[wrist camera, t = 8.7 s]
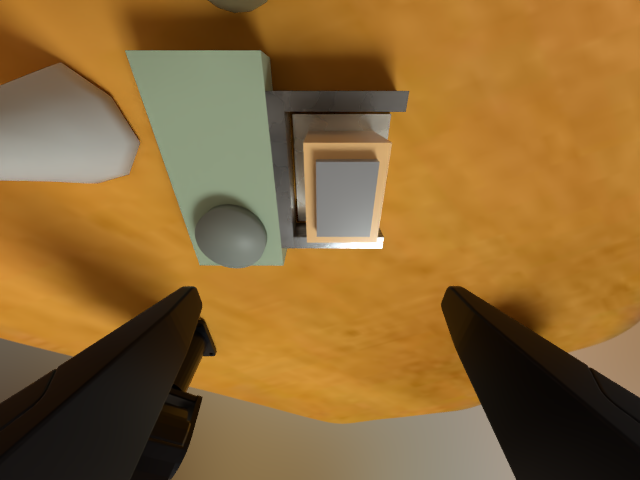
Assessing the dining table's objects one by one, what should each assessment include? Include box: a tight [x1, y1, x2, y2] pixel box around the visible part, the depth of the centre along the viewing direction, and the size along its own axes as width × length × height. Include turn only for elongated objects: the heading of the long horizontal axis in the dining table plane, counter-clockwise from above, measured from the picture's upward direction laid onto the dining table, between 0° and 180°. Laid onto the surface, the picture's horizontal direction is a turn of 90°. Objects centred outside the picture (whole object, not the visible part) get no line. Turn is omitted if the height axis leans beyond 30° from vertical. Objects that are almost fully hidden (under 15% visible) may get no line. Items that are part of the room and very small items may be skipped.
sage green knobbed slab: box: [125, 50, 287, 268], centre depth 16 cm, size 14×7×4 cm, turn 0°
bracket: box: [265, 91, 409, 248], centre depth 17 cm, size 10×8×2 cm
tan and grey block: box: [303, 131, 392, 243], centre depth 15 cm, size 6×4×6 cm
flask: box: [0, 62, 140, 183], centre depth 12 cm, size 7×7×10 cm
